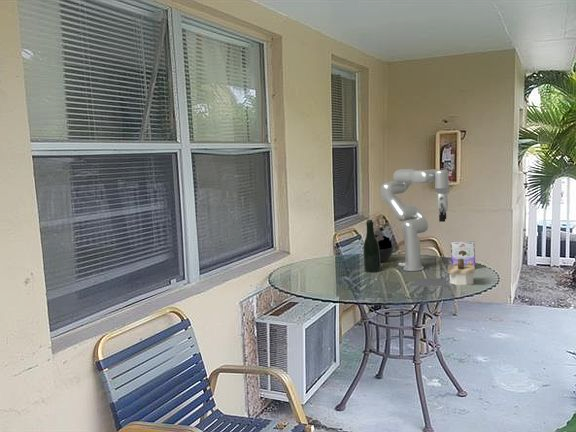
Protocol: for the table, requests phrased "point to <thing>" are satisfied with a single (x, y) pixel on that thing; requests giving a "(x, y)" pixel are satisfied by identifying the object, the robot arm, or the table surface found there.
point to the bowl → (461, 278)
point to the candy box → (463, 253)
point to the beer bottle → (371, 250)
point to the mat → (429, 282)
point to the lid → (461, 268)
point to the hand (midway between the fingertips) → (442, 220)
